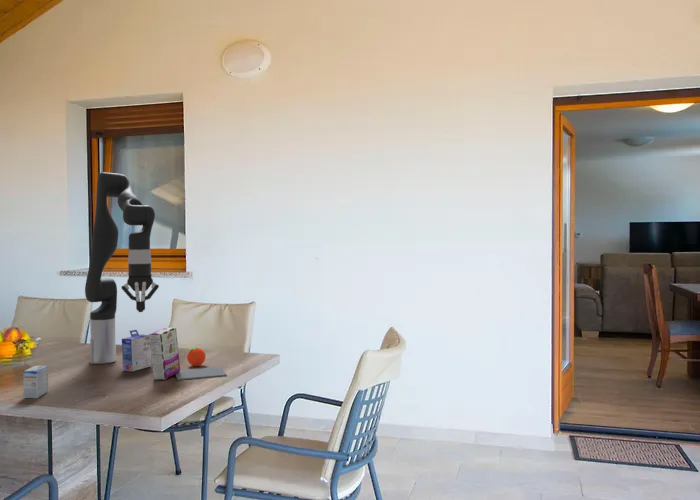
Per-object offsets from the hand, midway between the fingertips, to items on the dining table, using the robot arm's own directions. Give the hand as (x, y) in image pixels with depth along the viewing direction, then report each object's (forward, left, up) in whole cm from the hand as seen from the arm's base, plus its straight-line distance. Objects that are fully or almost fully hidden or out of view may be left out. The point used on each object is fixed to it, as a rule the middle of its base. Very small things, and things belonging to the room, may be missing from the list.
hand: (140, 311), depth 213 cm
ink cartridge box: (-1, +18, -24) cm, 30 cm away
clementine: (+20, +14, -24) cm, 34 cm away
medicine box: (-32, -10, -24) cm, 41 cm away
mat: (+20, 0, -24) cm, 31 cm away
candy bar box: (+8, 0, -24) cm, 25 cm away
